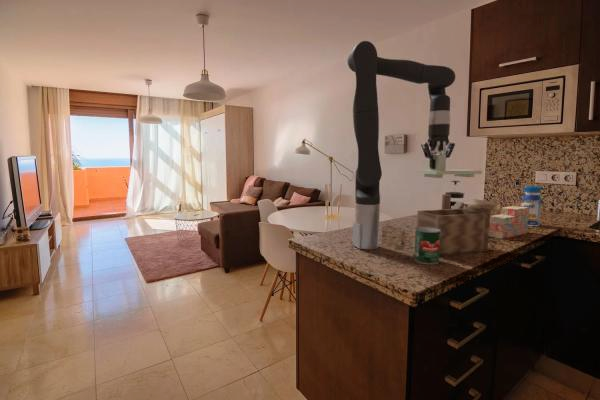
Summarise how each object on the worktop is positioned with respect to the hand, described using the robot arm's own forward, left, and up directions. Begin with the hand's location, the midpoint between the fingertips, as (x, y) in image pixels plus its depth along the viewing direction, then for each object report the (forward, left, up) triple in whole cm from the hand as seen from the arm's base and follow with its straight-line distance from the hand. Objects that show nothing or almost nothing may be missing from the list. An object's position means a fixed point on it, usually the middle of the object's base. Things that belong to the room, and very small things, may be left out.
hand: (436, 168), depth 127 cm
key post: (+13, -8, -30) cm, 34 cm away
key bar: (+15, -8, -15) cm, 23 cm away
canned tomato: (-15, -17, -31) cm, 38 cm away
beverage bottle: (+72, +20, -31) cm, 80 cm away
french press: (+33, +28, -31) cm, 53 cm away
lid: (+5, 0, -3) cm, 6 cm away
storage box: (+1, -8, -30) cm, 31 cm away
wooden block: (+21, +16, -31) cm, 40 cm away
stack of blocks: (+44, +6, -31) cm, 54 cm away
